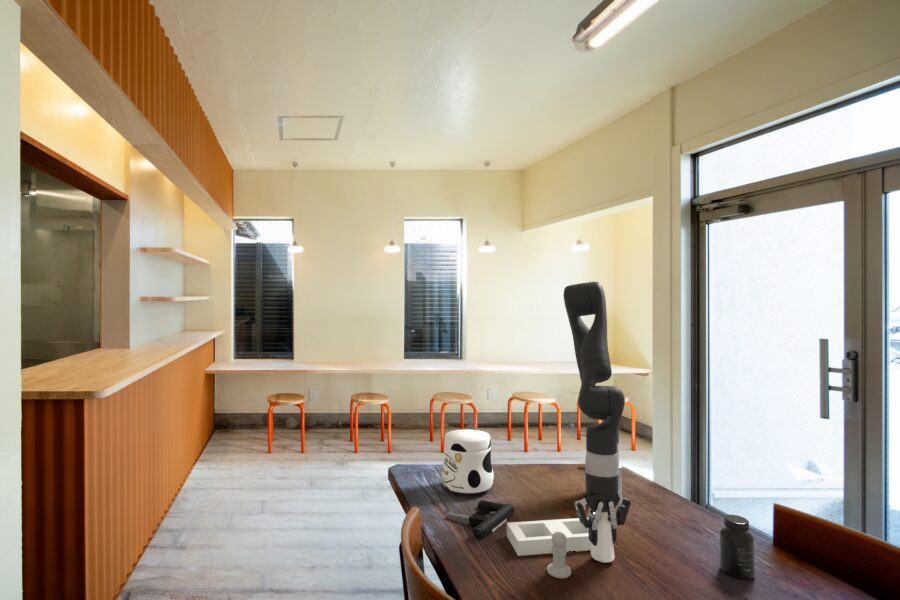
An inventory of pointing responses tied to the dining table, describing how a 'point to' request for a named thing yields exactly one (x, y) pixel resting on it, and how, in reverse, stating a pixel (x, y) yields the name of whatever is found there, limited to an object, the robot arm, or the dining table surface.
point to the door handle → (484, 517)
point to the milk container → (467, 462)
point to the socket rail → (547, 536)
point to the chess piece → (559, 557)
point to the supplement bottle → (737, 548)
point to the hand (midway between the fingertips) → (602, 542)
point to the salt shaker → (603, 541)
